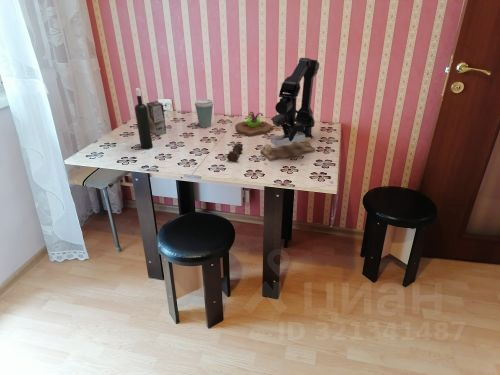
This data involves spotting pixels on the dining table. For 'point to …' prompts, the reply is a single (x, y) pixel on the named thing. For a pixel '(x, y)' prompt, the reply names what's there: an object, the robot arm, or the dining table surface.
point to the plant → (253, 126)
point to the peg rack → (287, 150)
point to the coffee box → (156, 118)
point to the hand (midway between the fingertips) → (288, 139)
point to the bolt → (235, 153)
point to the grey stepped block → (286, 139)
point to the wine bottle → (143, 123)
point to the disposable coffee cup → (204, 112)
